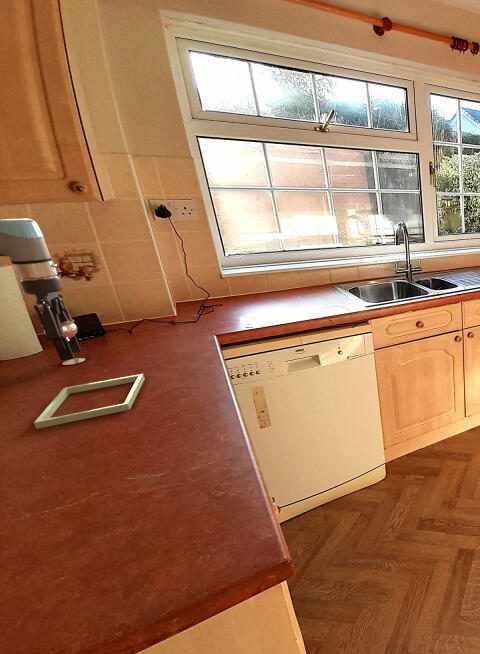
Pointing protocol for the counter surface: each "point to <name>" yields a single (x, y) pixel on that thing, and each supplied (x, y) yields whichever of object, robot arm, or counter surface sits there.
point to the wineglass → (69, 332)
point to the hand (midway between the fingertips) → (71, 355)
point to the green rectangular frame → (46, 421)
